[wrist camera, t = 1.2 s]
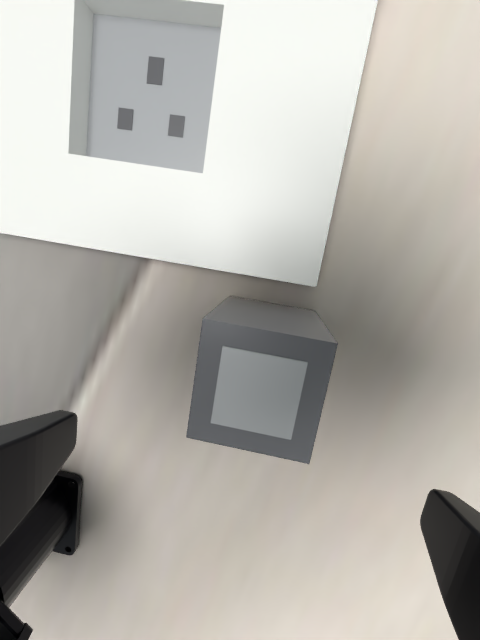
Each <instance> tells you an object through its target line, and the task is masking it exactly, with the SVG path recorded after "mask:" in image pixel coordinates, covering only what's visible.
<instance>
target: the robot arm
mask: <svg viewBox="0 0 480 640" xmlns="http://www.w3.org/2000/svg"><path fill="white" fill-rule="evenodd" d="M76 437H77V415H76V414H75V413H73V412H68V411H63V410H59V411H55V412H51V413H47V414H44V415H40V416H36V417H32V418H29V419H25V420H21V421H17V422H13V423H10V424H6V425H2V426H0V640H28V639H29V637H30V635H31V633H32V631H33V629H32V628H31V627H30V626H29V625H28V624H27V623H23V622H22V621H21V620H20V619H19V618H18V617H17V616H16V615H15V614H14V613H13V612H12V611H11V610H10V608H9V607H10V606H11V604H12V603H13V602H14V600H15V599H16V598H17V596H18V595H19V594H20V592H21V591H22V590H23V588H24V587H25V586H26V585H27V583H28V582H29V581H30V579H31V578H32V577H33V575H34V574H35V573H36V571H37V570H38V569H39V567H40V566H41V565H42V564H43V562H44V561H45V560H46V558H47V557H48V556H49V554H50V553H51V552H52V551H54V552H58V553H62V554H66V555H73V554H74V552H75V551H76V549H77V548H78V539H79V523H80V507H81V490H82V480H81V478H80V477H79V476H78V475H75V474H70V473H66V472H62V471H59V470H60V468H61V467H62V466H63V464H64V463H65V461H66V460H67V458H68V457H69V456H70V454H71V453H72V451H73V449H74V447H75V445H76ZM73 482H74V483H73ZM420 524H421V530H422V533H423V536H424V540H425V543H426V546H427V549H428V553H429V556H430V559H431V562H432V566H433V569H434V572H435V576H436V579H437V582H438V585H439V589H440V592H441V595H442V598H443V601H444V603H445V606H446V609H447V611H448V614H449V617H450V619H451V622H452V624H453V627H454V629H455V632H456V634H457V637H458V639H459V640H480V512H478V511H477V510H475V509H474V508H472V507H471V506H470V505H468V504H467V503H465V502H464V501H462V500H461V499H460V498H458V497H457V496H455V495H454V494H452V493H450V492H447V491H442V490H437V489H433V490H431V491H430V492H429V494H428V496H427V499H426V502H425V505H424V508H423V511H422V514H421V519H420Z"/></svg>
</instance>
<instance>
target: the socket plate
mask: <svg viewBox="0 0 480 640" xmlns="http://www.w3.org/2000/svg"><path fill="white" fill-rule="evenodd" d="M377 2H378V0H0V233H4V234H10V235H16V236H22V237H28V238H33V239H39V240H45V241H51V242H57V243H63V244H68V245H74V246H80V247H86V248H92V249H97V250H103V251H109V252H115V253H121V254H127V255H132V256H138V257H144V258H150V259H156V260H162V261H167V262H173V263H179V264H185V265H191V266H196V267H202V268H208V269H214V270H220V271H226V272H231V273H237V274H243V275H249V276H255V277H261V278H266V279H272V280H278V281H284V282H290V283H296V284H301V285H307V286H313V287H316V286H317V282H318V277H319V272H320V268H321V263H322V258H323V254H324V249H325V244H326V240H327V235H328V230H329V226H330V221H331V216H332V212H333V207H334V202H335V198H336V193H337V188H338V184H339V179H340V174H341V170H342V165H343V160H344V156H345V151H346V146H347V142H348V137H349V132H350V128H351V123H352V118H353V114H354V109H355V104H356V100H357V95H358V90H359V86H360V81H361V76H362V72H363V67H364V62H365V58H366V53H367V48H368V44H369V39H370V34H371V30H372V25H373V20H374V16H375V11H376V6H377Z"/></svg>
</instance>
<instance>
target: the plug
mask: <svg viewBox="0 0 480 640" xmlns="http://www.w3.org/2000/svg"><path fill="white" fill-rule="evenodd" d="M337 345H338V343H337V341H336V340H335V339H334V337H333V336H332V334H331V333H330V331H329V330H328V329H327V327H326V326H325V324H324V323H323V321H322V320H321V319H320V317H319V316H318V314H317V313H316V311H313V310H307V309H302V308H296V307H290V306H285V305H279V304H273V303H268V302H262V301H257V300H251V299H245V298H240V297H234V296H229V297H228V298H227V299H226V300H224V301H223V302H222V303H221V304H220V305H218V306H217V307H216V308H215V309H214V310H212V311H211V312H210V313H209V314H208V315H206V316H205V317H204V318H203V321H202V328H201V335H200V342H199V350H198V357H197V364H196V371H195V378H194V385H193V393H192V400H191V407H190V414H189V421H188V429H187V436H186V437H187V438H191V439H196V440H201V441H205V442H210V443H215V444H219V445H224V446H228V447H233V448H238V449H242V450H247V451H252V452H256V453H261V454H265V455H270V456H275V457H279V458H284V459H289V460H293V461H298V462H302V463H307V464H309V463H310V459H311V454H312V450H313V446H314V442H315V438H316V433H317V429H318V425H319V421H320V417H321V412H322V408H323V404H324V400H325V395H326V391H327V387H328V383H329V379H330V374H331V370H332V366H333V362H334V358H335V353H336V349H337Z"/></svg>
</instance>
